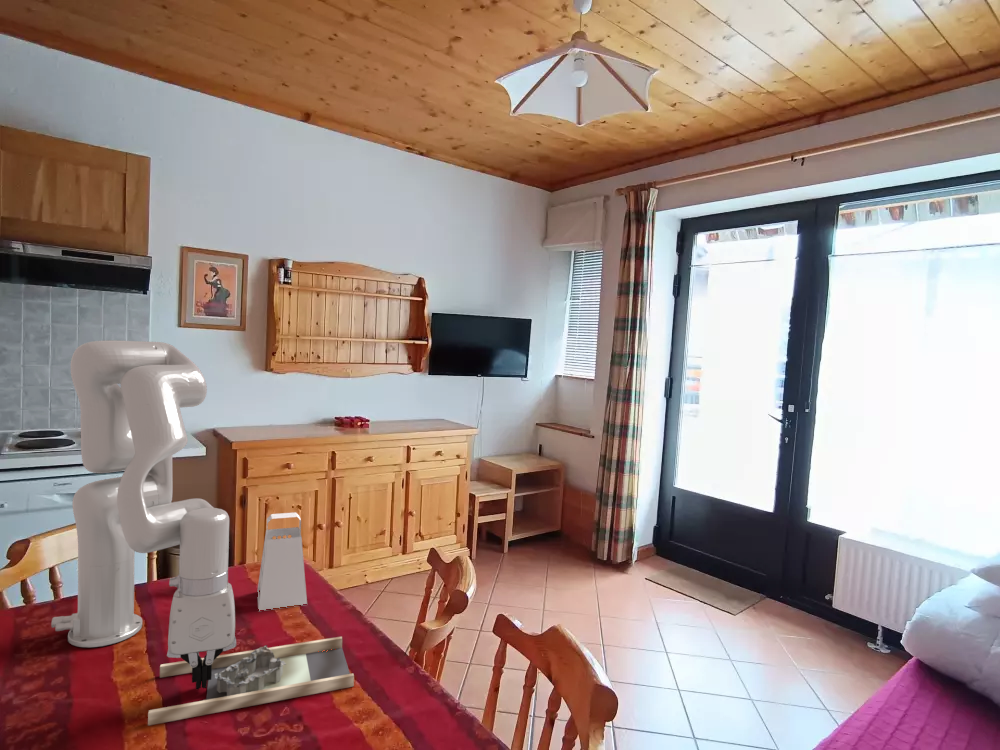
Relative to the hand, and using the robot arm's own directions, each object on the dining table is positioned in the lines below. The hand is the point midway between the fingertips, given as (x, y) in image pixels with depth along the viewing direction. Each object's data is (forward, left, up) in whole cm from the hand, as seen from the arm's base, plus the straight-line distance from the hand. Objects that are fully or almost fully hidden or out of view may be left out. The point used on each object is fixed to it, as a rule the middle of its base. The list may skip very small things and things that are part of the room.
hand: (201, 684), depth 101 cm
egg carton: (+8, -1, -1) cm, 8 cm away
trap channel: (+9, 0, -1) cm, 9 cm away
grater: (+15, +33, -1) cm, 37 cm away
